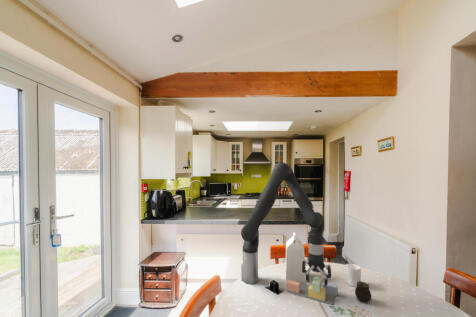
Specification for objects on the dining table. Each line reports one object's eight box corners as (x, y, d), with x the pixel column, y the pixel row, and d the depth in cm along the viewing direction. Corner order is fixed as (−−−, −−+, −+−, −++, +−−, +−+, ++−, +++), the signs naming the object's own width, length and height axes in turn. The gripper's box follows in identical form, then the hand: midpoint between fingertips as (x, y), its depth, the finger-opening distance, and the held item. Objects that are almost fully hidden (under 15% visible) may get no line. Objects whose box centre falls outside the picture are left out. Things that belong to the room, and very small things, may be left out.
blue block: (322, 292, 117) (322, 284, 118) (323, 289, 120) (323, 281, 121) (337, 295, 114) (336, 287, 114) (337, 292, 117) (337, 284, 117)
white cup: (346, 286, 124) (346, 268, 124) (345, 279, 131) (345, 262, 132) (362, 289, 121) (361, 270, 122) (360, 282, 128) (359, 264, 129)
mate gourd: (362, 294, 116) (361, 275, 116) (375, 303, 108) (375, 282, 109) (351, 297, 113) (351, 277, 113) (364, 306, 106) (364, 285, 106)
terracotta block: (285, 289, 120) (285, 282, 120) (287, 286, 123) (287, 279, 123) (298, 293, 116) (298, 285, 116) (300, 290, 119) (300, 282, 120)
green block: (314, 284, 118) (314, 276, 118) (321, 285, 116) (321, 278, 116) (312, 290, 112) (312, 282, 112) (319, 292, 110) (319, 284, 110)
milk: (285, 271, 143) (284, 230, 144) (303, 272, 141) (302, 231, 142) (285, 280, 131) (285, 236, 132) (305, 282, 129) (304, 237, 130)
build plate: (287, 293, 118) (287, 284, 118) (278, 298, 114) (278, 289, 114) (270, 283, 128) (270, 275, 128) (261, 288, 124) (261, 279, 124)
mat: (288, 292, 118) (288, 291, 118) (295, 281, 129) (295, 281, 129) (333, 305, 107) (333, 304, 107) (335, 292, 118) (335, 291, 118)
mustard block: (308, 296, 114) (308, 288, 114) (309, 292, 117) (309, 284, 117) (324, 300, 110) (324, 292, 110) (325, 296, 113) (325, 288, 113)
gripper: (331, 251, 114) (332, 283, 113) (303, 247, 121) (304, 277, 120) (329, 256, 108) (330, 290, 107) (300, 251, 115) (301, 283, 114)
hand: (316, 283), depth 114 cm, fingers open, 8 cm apart
